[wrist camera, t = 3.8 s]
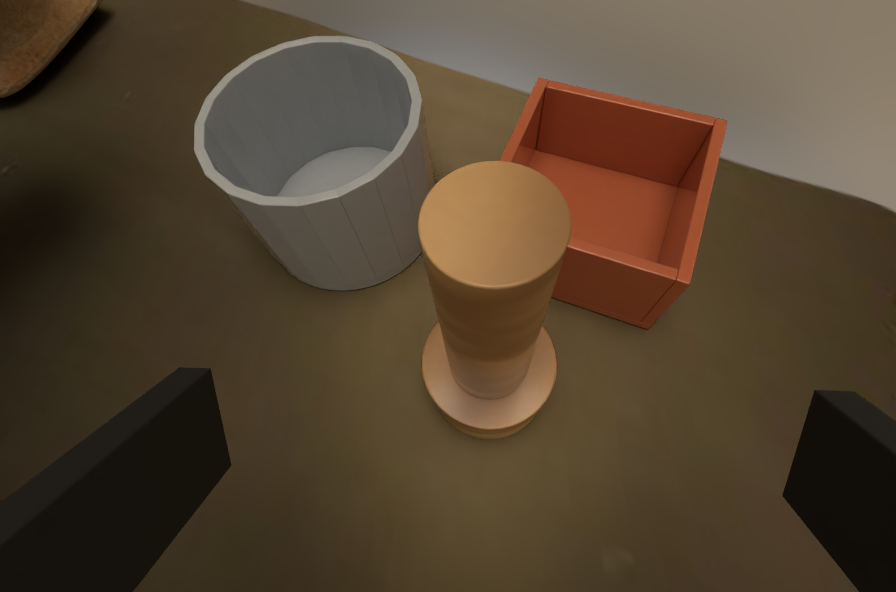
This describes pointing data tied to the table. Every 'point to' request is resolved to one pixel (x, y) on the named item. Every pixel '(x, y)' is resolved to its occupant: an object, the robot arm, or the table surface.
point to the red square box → (621, 193)
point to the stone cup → (35, 36)
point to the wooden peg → (492, 294)
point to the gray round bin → (322, 157)
